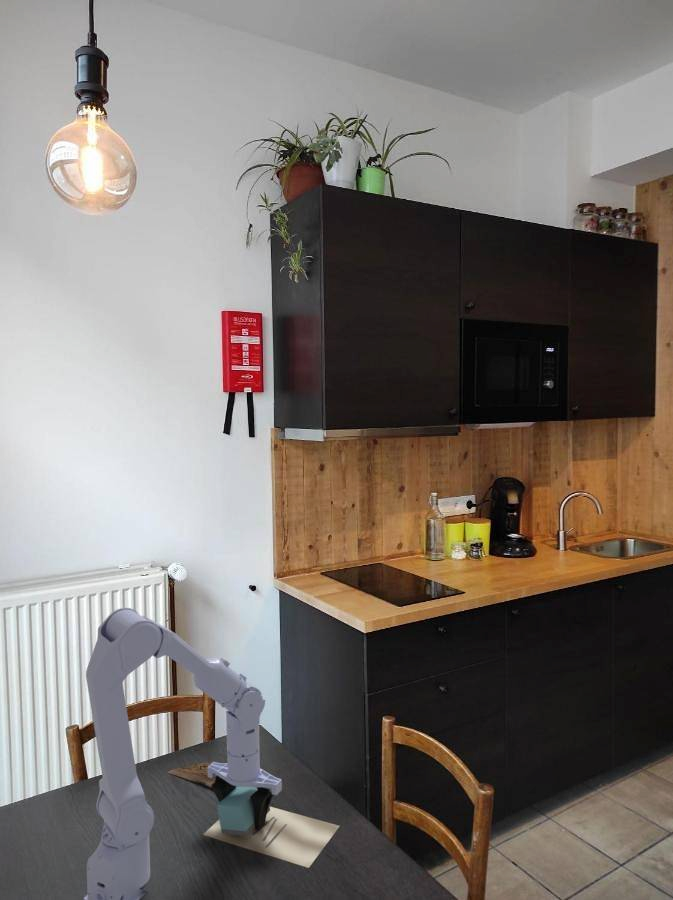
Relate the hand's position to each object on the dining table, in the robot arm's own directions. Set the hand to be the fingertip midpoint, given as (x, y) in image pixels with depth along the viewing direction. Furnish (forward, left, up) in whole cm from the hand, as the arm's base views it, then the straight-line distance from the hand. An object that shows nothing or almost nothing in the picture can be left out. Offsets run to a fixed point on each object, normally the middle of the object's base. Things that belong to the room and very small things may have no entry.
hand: (245, 822), depth 120 cm
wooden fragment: (+14, +14, -3) cm, 20 cm away
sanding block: (0, 0, 0) cm, 1 cm away
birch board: (+1, -5, -2) cm, 6 cm away
